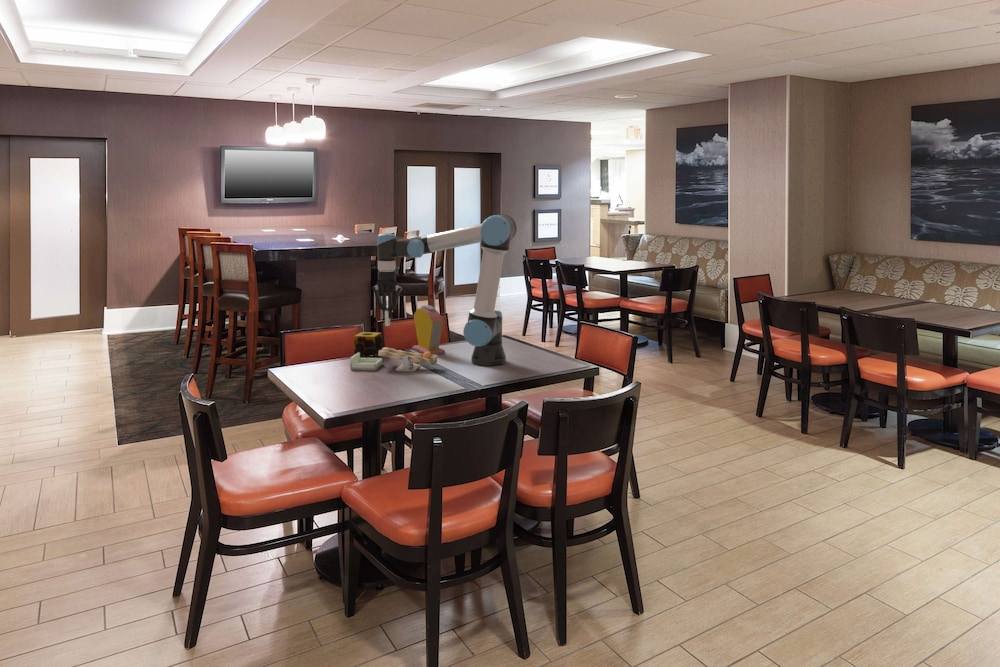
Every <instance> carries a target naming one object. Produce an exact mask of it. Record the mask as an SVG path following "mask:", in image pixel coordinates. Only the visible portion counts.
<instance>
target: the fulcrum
mask: <svg viewBox="0 0 1000 667" xmlns="http://www.w3.org/2000/svg"><path fill="white" fill-rule="evenodd" d="M410 352H411V353H414V352H413V351H410ZM402 359H403V360H402V363H400V365H399V366H398V367H396V368H395V371H396V372H413V373H414V372H416V371H417V370H418V369H419V368H420V367H421V363H414V362H413V361H409V356H402Z"/></svg>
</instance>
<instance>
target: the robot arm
mask: <svg viewBox="0 0 1000 667" xmlns="http://www.w3.org/2000/svg"><path fill="white" fill-rule="evenodd" d="M517 230H518V227H517V223H516V221H515V218H513V217H511V216H510V215H508V214H503V213H502V214H493V215H490V216H488V217H487V218H485V219H484V221H483V222H482V223H480V224H479V223H478V224H474V225H470V226H465V227H460V228H456V229H451V230H446V231H442V232H437V233H433V234H428V235H424V236H417V237H415V238H406V239H405V238H396V234H394V233H379V234H378V235H377V242H376V245H377V246H376V248H377V270H378V271H377V283H376V284H375V285H374V286H372V287H371V290H372V291H373V293H374V297H375V301H376V305H377V308H378V310H381V311H382V318H383V319H384V326H385V327H390V326H391V319H392V318H393V310H395V309H397V308H398V302H399V299H400V294H401V292H402V290H403V287H402V286H400V285H398V282H397V277H396V276H397V275H396V274H397V272H396V268H397V265H396V264H397V263H396V258H412V259H416V258H419V259H420V258H422V257H423V256H424V255H425V254H426V255H427V254H431V253H436V252H440V251H446V250H449V249H454V248H460V247H465V246H468V245H469V246H470V245H474V244H479V243H480V245H479V246H480V248H481V249H482V255H481V257H482V258H481V261H480V262H481V264H480V269H479V274H478V281H477V286H476V293H475V297H474V298H475V299H474V304H473V308H472V309H469V312H468V317H467V322H466V323H465V324H464V327H463V331H462V332H463V337H464V339H465V340H466V342H467V343H468V344H470V345H472V346H474V348H473V352H472V354H471V364H474V365H475V366H476V365H477V366H481V367H483V366H485V367H488V366H489V367H490V366H491V367H494V366H493V365H495V366H500V365H499V364H501V365H503V363H504V364H506V363H505V362H507V356H506V353H505V350H504V347H503V313H502V311H501V310H498V309H497V310H495V308H496V303H497V302H496V301H497V296H498V290H499V287H500V279H501V275H502V274H501V273H502V269H503V265H504V264H503V262H504V258H505V254H507V253H508V252H509V250H510V245H511V240H513V239H514V237H515V236H516V234H517ZM379 290H380V292H381V294H380V292H379ZM394 290H395V295H394V298H393V292H394Z"/></svg>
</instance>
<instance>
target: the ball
mask: <svg viewBox="0 0 1000 667" xmlns="http://www.w3.org/2000/svg"><path fill="white" fill-rule="evenodd" d="M422 354H423V353H422ZM431 356H432V355H431V353H430V352H425V353H424V354H423V358H427V359H430V357H431Z"/></svg>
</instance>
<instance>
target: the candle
mask: <svg viewBox="0 0 1000 667" xmlns="http://www.w3.org/2000/svg"><path fill="white" fill-rule="evenodd" d="M382 337H383V336H382V332H371V331H368V332H367V331H361V332H359V333H357V334H354V336H353V338H354V339H353V340H354V351H353V352H354V354H353V355H355V354H357V353H360V358H365V357H367V358H378V357H379V356H378V352H379V350H381V349H382V348H383V343H382V342H383V340H382ZM375 354H377V355H375ZM363 355H364V356H363ZM369 355H373V356H369ZM377 356H378V357H377Z"/></svg>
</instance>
